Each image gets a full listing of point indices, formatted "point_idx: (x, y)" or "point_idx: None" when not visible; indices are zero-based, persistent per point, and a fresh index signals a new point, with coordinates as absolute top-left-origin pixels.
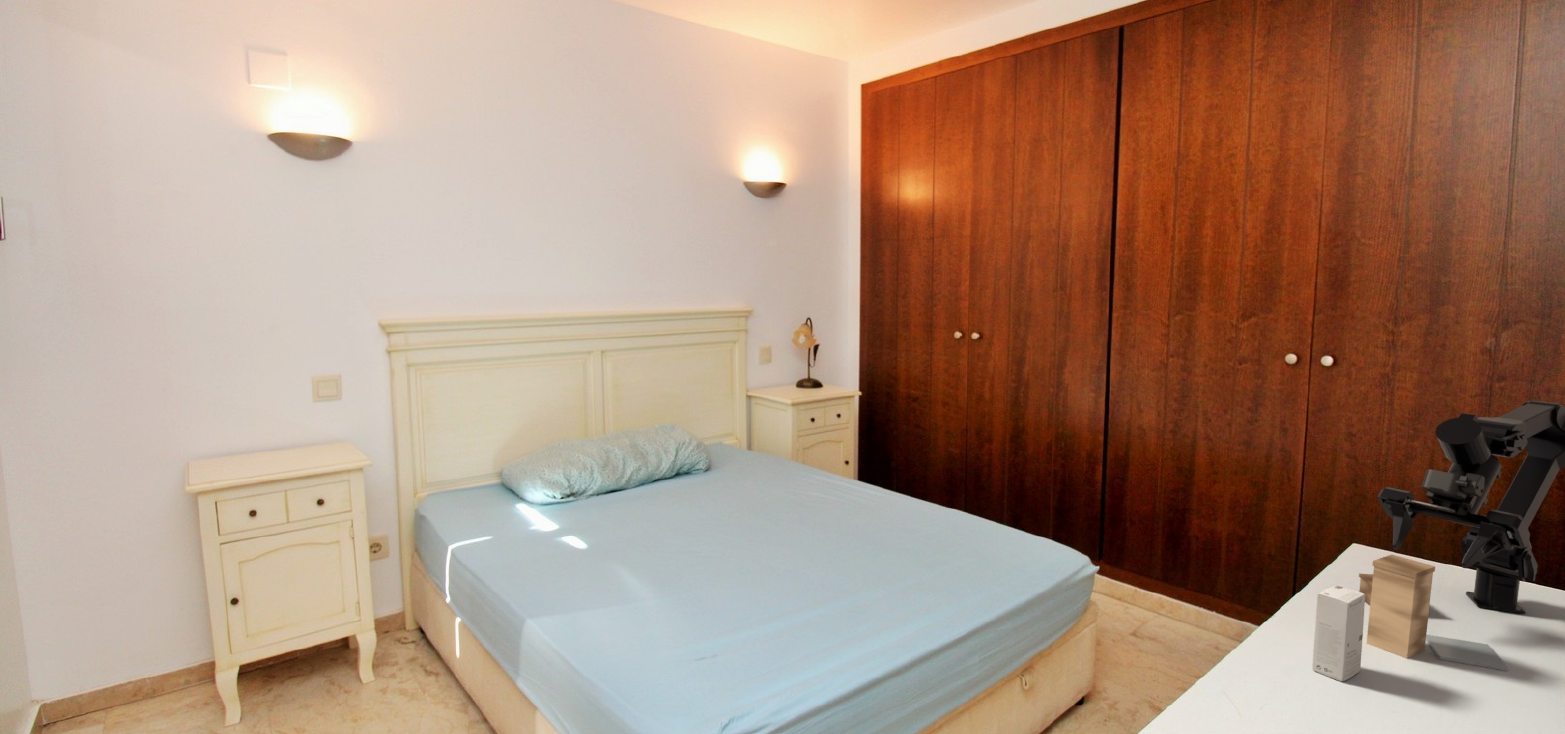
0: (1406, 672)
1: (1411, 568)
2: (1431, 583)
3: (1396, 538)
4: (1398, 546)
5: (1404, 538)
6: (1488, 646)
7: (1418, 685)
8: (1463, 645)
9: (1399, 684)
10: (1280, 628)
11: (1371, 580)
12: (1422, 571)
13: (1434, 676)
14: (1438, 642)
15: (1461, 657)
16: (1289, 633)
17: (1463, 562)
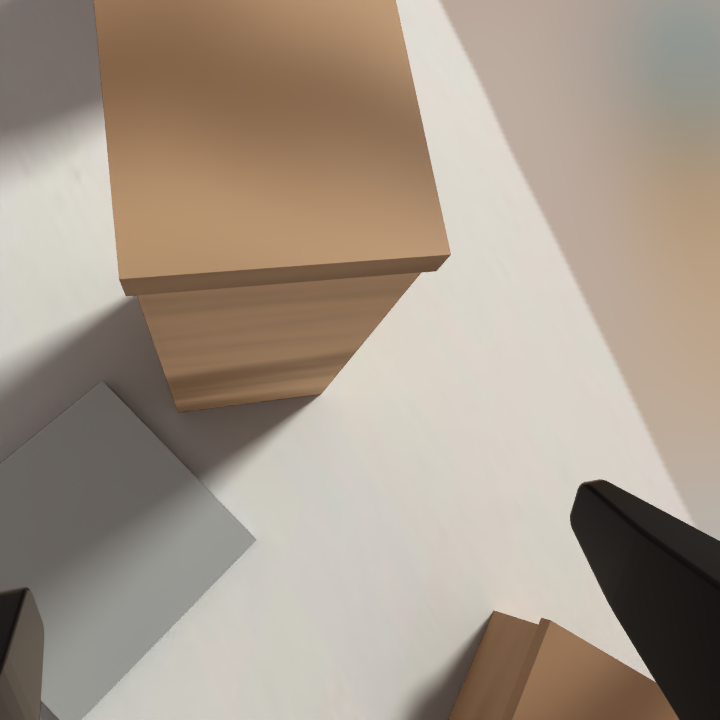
0: (96, 165)
1: (175, 56)
2: (147, 320)
3: (651, 524)
4: (589, 539)
5: (672, 689)
6: (55, 707)
7: (20, 106)
8: (115, 595)
9: (56, 62)
10: (474, 119)
11: (627, 681)
12: (101, 72)
13: (31, 220)
14: (180, 513)
15: (51, 453)
16: (439, 109)
17: (3, 599)
